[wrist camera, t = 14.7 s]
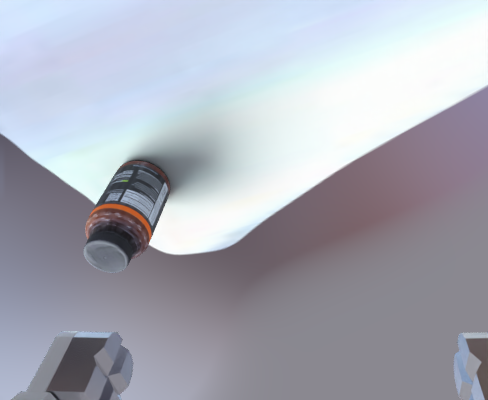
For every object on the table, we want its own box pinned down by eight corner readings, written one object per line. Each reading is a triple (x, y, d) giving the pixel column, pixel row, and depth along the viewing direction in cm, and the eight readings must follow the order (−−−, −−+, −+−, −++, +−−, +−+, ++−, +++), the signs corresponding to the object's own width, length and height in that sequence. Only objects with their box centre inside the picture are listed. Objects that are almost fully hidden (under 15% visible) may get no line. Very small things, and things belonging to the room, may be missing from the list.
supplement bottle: (146, 211, 49) (109, 289, 40) (105, 175, 46) (56, 250, 38) (183, 187, 46) (152, 266, 37) (142, 147, 43) (98, 222, 35)
